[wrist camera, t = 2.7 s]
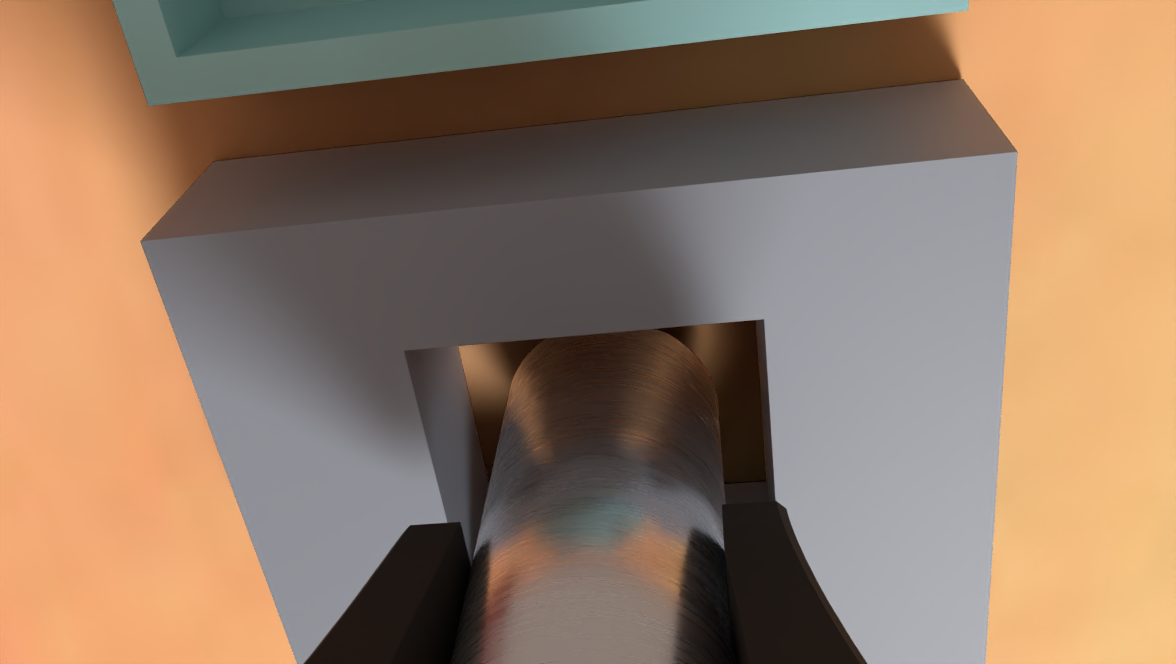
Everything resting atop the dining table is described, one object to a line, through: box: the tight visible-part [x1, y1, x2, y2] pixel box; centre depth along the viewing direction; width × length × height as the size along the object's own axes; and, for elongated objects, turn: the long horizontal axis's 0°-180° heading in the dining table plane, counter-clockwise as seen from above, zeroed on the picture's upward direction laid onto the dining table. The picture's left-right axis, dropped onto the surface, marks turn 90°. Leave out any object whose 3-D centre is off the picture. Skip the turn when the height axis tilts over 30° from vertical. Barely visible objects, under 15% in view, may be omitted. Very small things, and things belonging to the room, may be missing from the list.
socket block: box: [140, 79, 1018, 664], centre depth 16 cm, size 10×8×2 cm
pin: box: [450, 329, 737, 664], centre depth 13 cm, size 3×3×7 cm
